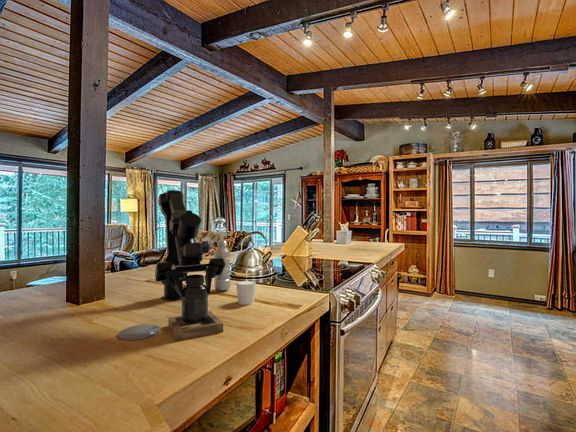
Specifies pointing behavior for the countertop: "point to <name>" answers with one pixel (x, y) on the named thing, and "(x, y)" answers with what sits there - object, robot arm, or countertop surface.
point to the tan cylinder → (246, 292)
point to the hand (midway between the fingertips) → (196, 294)
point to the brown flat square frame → (195, 331)
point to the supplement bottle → (195, 300)
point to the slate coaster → (139, 332)
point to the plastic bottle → (223, 280)
